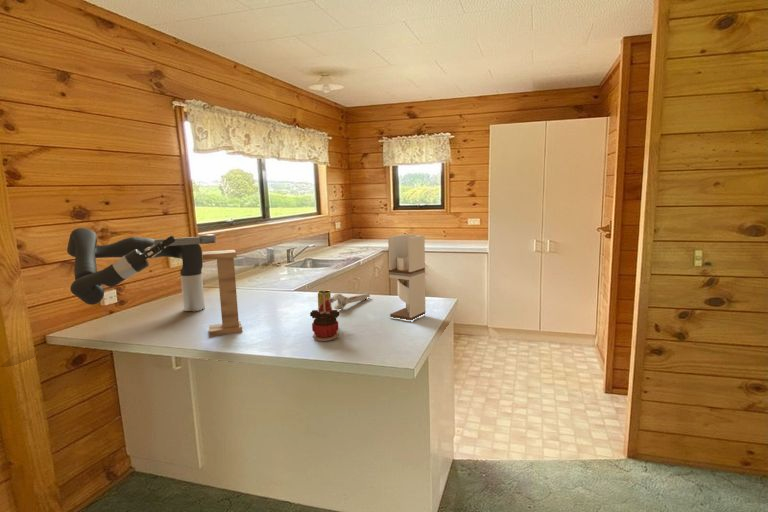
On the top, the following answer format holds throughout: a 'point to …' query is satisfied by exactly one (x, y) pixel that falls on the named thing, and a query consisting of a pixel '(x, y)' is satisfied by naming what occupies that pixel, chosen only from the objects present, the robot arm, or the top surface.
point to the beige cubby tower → (408, 273)
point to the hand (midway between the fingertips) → (173, 238)
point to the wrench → (348, 300)
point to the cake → (325, 321)
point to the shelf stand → (225, 292)
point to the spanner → (191, 240)
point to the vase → (320, 297)
